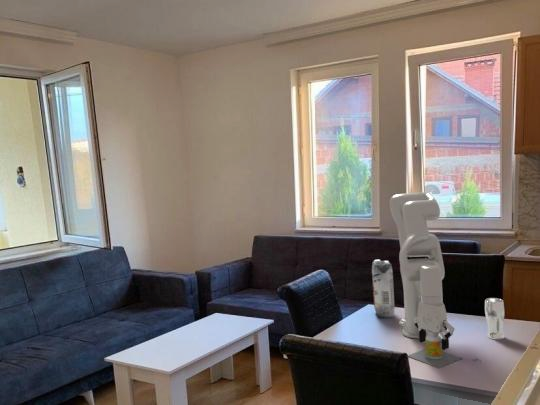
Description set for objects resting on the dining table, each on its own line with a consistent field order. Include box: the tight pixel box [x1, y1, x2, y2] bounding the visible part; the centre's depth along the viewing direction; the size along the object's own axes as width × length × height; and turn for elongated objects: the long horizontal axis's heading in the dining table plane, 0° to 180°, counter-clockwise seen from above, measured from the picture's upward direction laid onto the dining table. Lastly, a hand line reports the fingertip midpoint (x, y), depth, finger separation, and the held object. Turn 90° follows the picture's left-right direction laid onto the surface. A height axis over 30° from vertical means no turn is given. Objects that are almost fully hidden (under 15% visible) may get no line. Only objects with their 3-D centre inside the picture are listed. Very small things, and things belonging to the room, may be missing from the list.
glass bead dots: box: [472, 357, 482, 362], centre depth 161 cm, size 2×3×1 cm
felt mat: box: [408, 348, 463, 369], centre depth 166 cm, size 14×13×1 cm
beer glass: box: [484, 297, 505, 340], centre depth 181 cm, size 7×7×15 cm
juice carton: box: [371, 259, 395, 318], centre depth 218 cm, size 9×10×27 cm
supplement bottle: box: [425, 331, 443, 359], centre depth 166 cm, size 5×5×10 cm
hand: (433, 345), depth 166 cm, fingers open, 9 cm apart
